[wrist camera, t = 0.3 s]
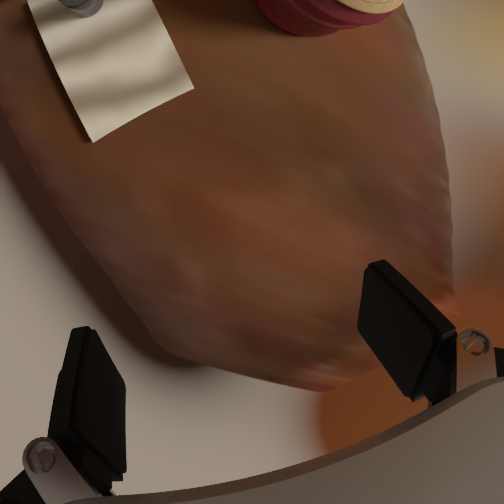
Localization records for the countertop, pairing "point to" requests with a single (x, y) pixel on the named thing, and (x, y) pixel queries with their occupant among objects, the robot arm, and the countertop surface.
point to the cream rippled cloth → (111, 60)
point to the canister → (325, 14)
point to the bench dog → (83, 7)
